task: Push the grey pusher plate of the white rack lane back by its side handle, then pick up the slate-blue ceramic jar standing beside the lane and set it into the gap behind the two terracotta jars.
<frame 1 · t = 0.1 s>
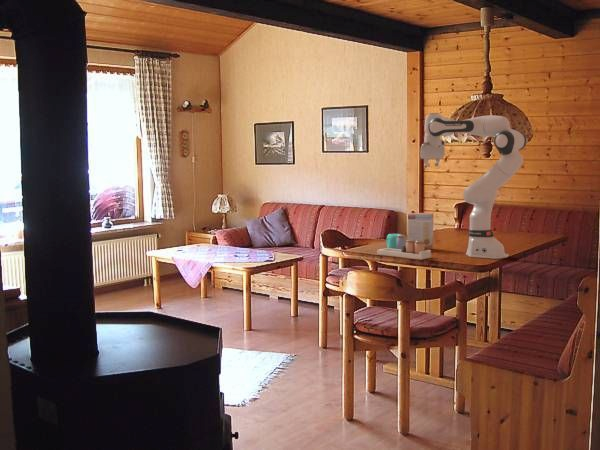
hand: (432, 166, 399), 48 cm above the table, tool pointing down, fingers open, 8 cm apart
lane: (403, 255, 384), on the table
blue jar: (401, 251, 402), on the table
jar front: (419, 257, 377), resting in lane
pusher: (407, 249, 385), point 3 cm above the table, slide at 0.0 cm
decorative dice: (394, 248, 415), on the table
cracker box: (420, 249, 410), on the table
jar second: (410, 256, 381), resting in lane
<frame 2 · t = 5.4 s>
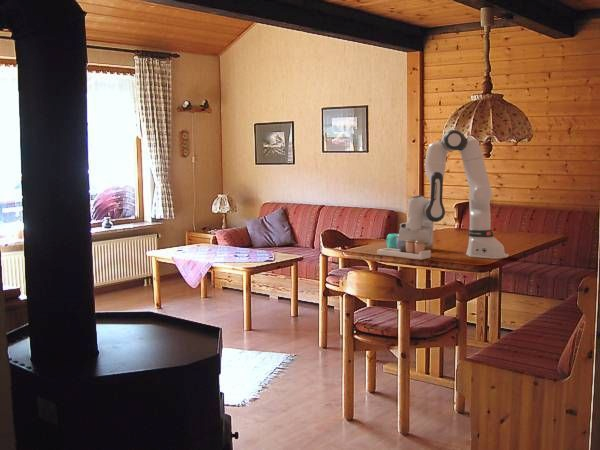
hand: (415, 250, 387), 3 cm above the table, tool pointing down, fingers closed
pusher: (406, 249, 386), point 3 cm above the table, slide at 1.1 cm, touching gripper
everything else where it was.
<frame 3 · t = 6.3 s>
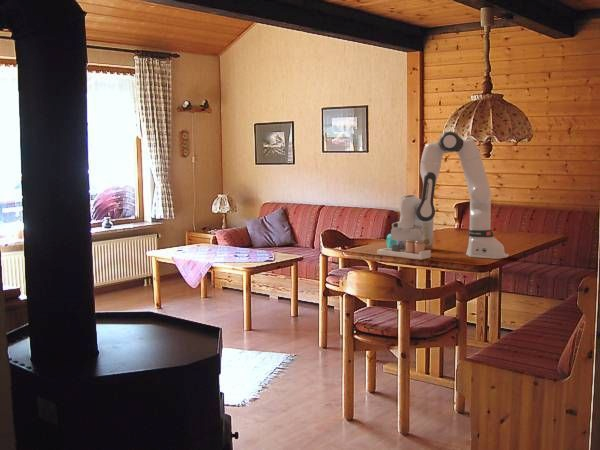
hand: (407, 249, 390), 3 cm above the table, tool pointing down, fingers closed
pusher: (398, 248, 389), point 3 cm above the table, slide at 6.4 cm, touching gripper
everything else where it was.
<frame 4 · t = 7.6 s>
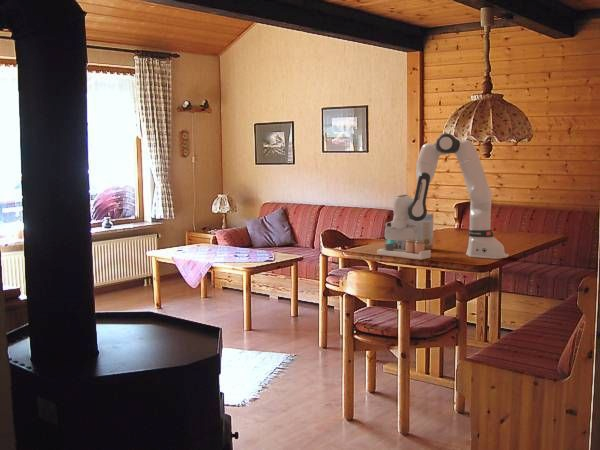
hand: (400, 248, 393), 3 cm above the table, tool pointing down, fingers closed
pusher: (391, 248, 392), point 3 cm above the table, slide at 10.9 cm, touching gripper
everything else where it was.
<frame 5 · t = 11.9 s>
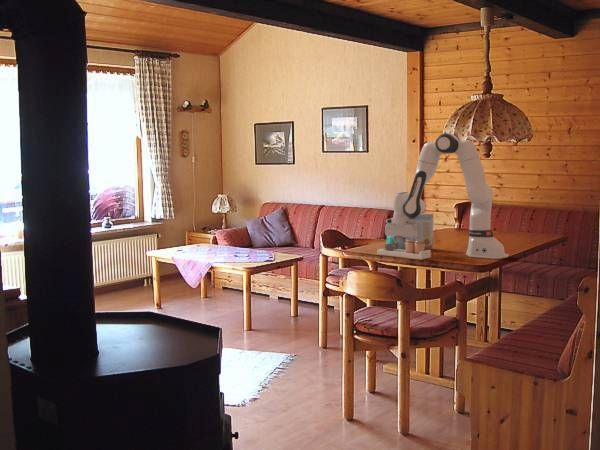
hand: (401, 244, 402), 4 cm above the table, tool pointing down, fingers closed on blue jar, 5 cm apart
blue jar: (401, 251, 402), on the table, touching gripper
pusher: (391, 248, 392), point 3 cm above the table, slide at 10.9 cm
everything else where it was.
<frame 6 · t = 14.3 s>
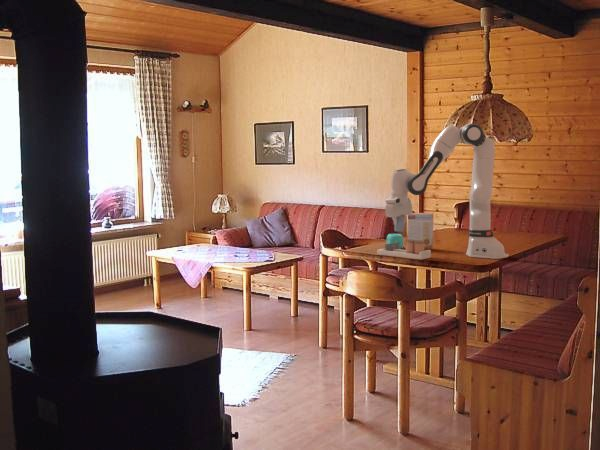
hand: (399, 224, 385), 17 cm above the table, tool pointing down, fingers closed on blue jar, 5 cm apart
blue jar: (399, 230, 386), point 13 cm above the table, touching gripper
everything else where it was.
when the fingers open (5 cm above the table, at t = 17.1 s): blue jar drops 1 cm, resting in lane.
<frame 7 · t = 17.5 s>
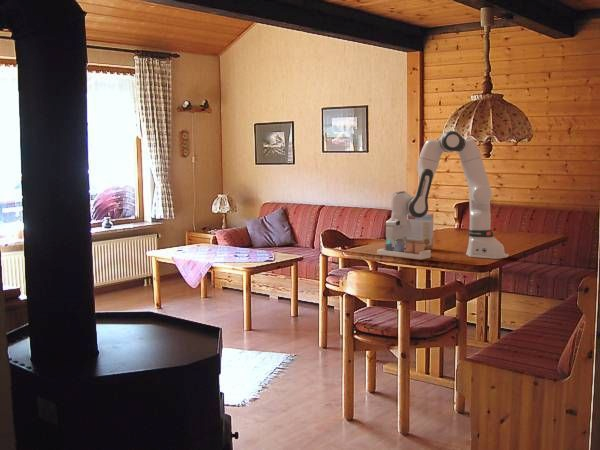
hand: (399, 246, 386), 5 cm above the table, tool pointing down, fingers open, 8 cm apart
blue jar: (399, 255, 386), resting in lane
everything else where it was.
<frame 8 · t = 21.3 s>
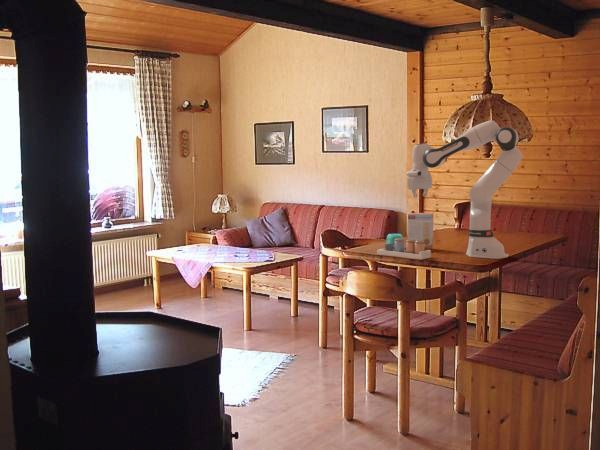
hand: (420, 197, 395), 31 cm above the table, tool pointing down, fingers open, 8 cm apart
nothing on the table moved.
at the end: blue jar 0.5 cm from the target spot on the lane, point 0.0 cm above the lane's base; blue jar tilted 0°; pusher slide at 10.9 cm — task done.
